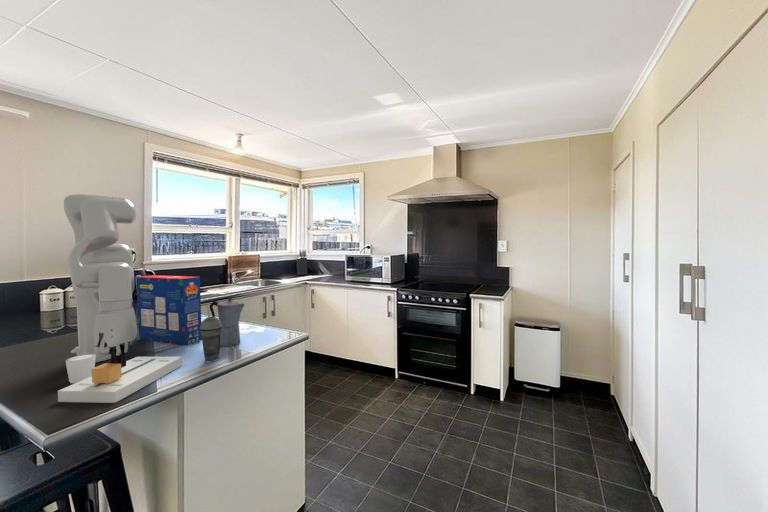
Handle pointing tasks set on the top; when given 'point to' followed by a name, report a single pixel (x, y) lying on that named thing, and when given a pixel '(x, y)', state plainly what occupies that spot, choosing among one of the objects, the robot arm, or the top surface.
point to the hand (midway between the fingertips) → (118, 367)
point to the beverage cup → (211, 337)
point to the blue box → (169, 309)
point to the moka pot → (229, 320)
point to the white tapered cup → (80, 367)
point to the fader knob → (106, 373)
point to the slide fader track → (121, 381)
